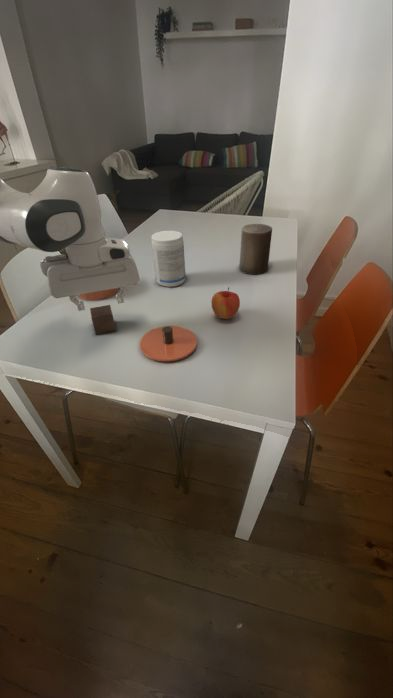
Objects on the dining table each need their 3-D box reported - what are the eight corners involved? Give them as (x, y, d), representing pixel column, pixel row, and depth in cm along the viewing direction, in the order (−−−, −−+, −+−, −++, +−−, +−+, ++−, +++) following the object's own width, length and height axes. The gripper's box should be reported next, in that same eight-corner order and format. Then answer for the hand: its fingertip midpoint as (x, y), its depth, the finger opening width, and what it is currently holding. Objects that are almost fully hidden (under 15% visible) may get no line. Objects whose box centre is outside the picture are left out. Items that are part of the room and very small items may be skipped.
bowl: (77, 303, 92) (71, 279, 87) (76, 285, 101) (70, 263, 97) (120, 296, 95) (116, 272, 90) (115, 279, 104) (111, 257, 100)
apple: (207, 320, 84) (207, 293, 79) (217, 307, 89) (217, 281, 84) (233, 326, 81) (235, 299, 76) (242, 312, 86) (244, 286, 81)
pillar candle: (271, 273, 105) (277, 227, 96) (243, 276, 104) (246, 229, 95) (262, 262, 113) (267, 218, 104) (235, 264, 112) (238, 220, 103)
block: (95, 335, 79) (91, 318, 76) (94, 324, 83) (90, 308, 80) (116, 331, 81) (112, 314, 78) (113, 321, 84) (110, 304, 81)
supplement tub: (191, 281, 102) (190, 235, 93) (169, 291, 97) (165, 243, 88) (172, 272, 108) (169, 228, 99) (149, 281, 103) (144, 235, 94)
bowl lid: (146, 369, 69) (144, 352, 66) (135, 335, 79) (133, 319, 76) (204, 355, 72) (204, 339, 69) (187, 325, 82) (186, 309, 79)
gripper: (36, 263, 64) (56, 320, 73) (136, 248, 69) (144, 304, 78) (38, 252, 69) (57, 307, 78) (131, 239, 74) (139, 292, 82)
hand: (101, 305), depth 78 cm, fingers open, 8 cm apart
